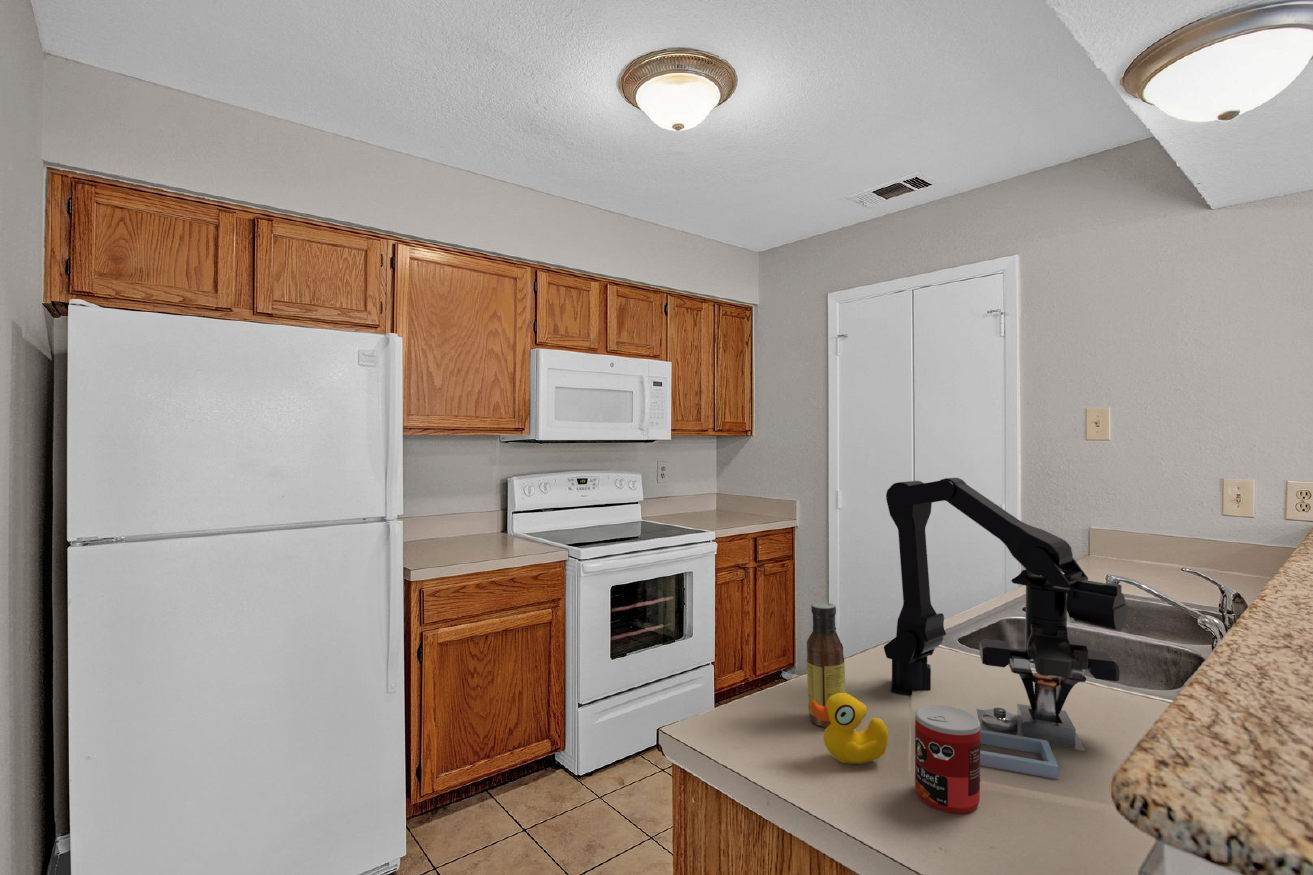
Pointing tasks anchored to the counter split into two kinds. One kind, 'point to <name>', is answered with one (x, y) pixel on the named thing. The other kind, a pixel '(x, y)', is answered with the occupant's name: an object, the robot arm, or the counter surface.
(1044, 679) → the lock pin
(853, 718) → the duckling
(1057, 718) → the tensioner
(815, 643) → the sauce bottle
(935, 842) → the counter surface
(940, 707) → the canned food
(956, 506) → the robot arm
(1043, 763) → the tray
